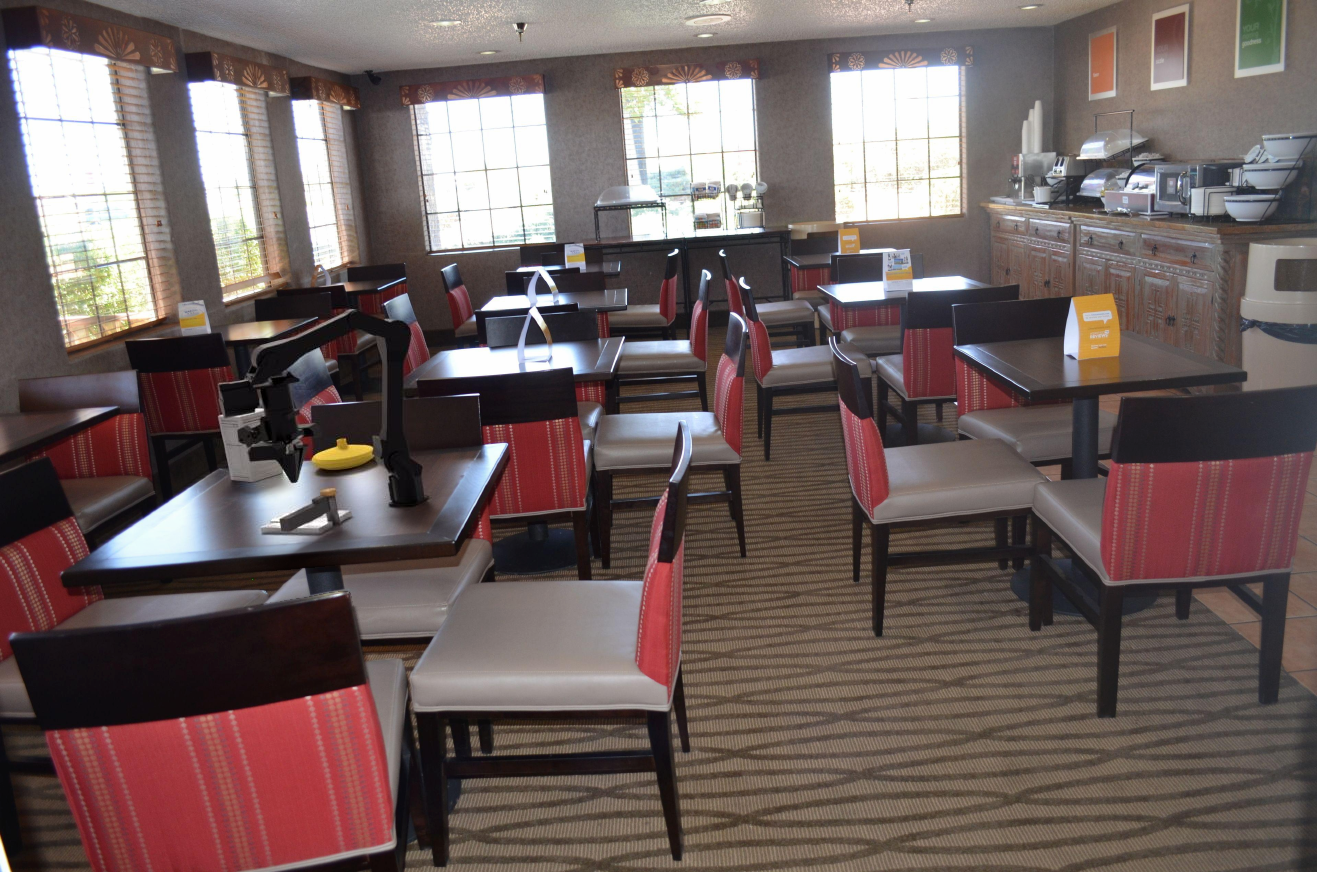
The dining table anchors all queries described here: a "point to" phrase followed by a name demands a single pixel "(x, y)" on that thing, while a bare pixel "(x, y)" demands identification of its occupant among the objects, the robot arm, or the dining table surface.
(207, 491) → the dining table surface
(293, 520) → the bar
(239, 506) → the dining table surface
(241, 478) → the supplement box
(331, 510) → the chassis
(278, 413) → the robot arm
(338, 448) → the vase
